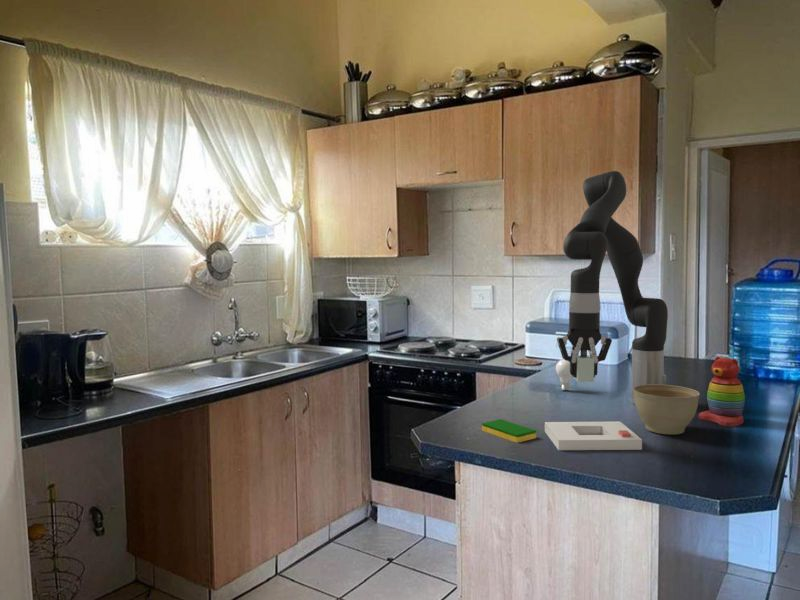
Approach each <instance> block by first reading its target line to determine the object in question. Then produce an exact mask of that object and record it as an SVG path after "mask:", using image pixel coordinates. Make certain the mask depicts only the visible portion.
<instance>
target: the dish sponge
mask: <svg viewBox="0 0 800 600" xmlns="http://www.w3.org/2000/svg"><path fill="white" fill-rule="evenodd" d="M481 432H485V433H488V434H491V435H494V436H497V437H499V438H502V439H504V440H505V439H506V440H508V441H511V442H514V443H517V444H518V443H521V442H526V441H529V440H530V441H531V440H533V439H534V440H535V439H537V430H536V429H533V428H529V427H526V426H524V425H519V424H517V423H513V422H510V421H508V420H505V419H501V418H500V419H495V420H492V421H491V420H490V421H486V422H482V423H481Z"/></svg>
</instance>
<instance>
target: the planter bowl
mask: <svg viewBox="0 0 800 600" xmlns="http://www.w3.org/2000/svg"><path fill="white" fill-rule="evenodd" d="M633 391H634V399H635V404H634V405H635V408H636V411H637V413H638V415H639V417H640V419H641V420H642V421H643V423H644V426H645V429H646V430H648V431H650V432H652V433H656V434H662V435H671V436H673V435H680V434H683V433H685V430H686V427H687V426H688V425H689V424H690V423H691V422H692V420H693V418H695V415H696V413H697V410H698V405H699V398H700V395H701V394H700V392H699V391H698V390H696V389H693V388H689V387H684V386H680V385H679V386H678V385H671V384H666V385H659V384H647V385H639V386H636V387H634V388H633Z"/></svg>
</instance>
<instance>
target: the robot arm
mask: <svg viewBox="0 0 800 600" xmlns="http://www.w3.org/2000/svg"><path fill="white" fill-rule="evenodd" d="M582 190H583V195H584V198H585V200H586V204H587V205H588V208H587V209H586V210H585V211H584V212H583V214H582V216H581V219H580V221H579V223H577V224H576V225H575V226H574V227H573V228H572V229H571V230H570V231H568V233H567V234H566V236H565V238H564V241H563V245H562V246H563V247H562V248H563V252H564V254H565V256H566V257H567V258H568V259H571V260H575V261H576V260H581V261H582V260H587V261H589V260H591V261H590V264H589V265H588V266H586V267H584V268H577V269H575V270H572V272H570V295H569V300H568V302H569V305H568V307H569V308H568V332H567V333H566V335H564V336H561V337H559V336H558V337H557V338H556V342H557V345H558V349H559V351H560V353H561V358H562V360H563V359H565V360H566V361H569V362H570V374H571V375H572V376H571V378H572V377H574V378H576V376H577V363H576V360H577V357H578V355H580V353H581V350H587V353H588V355H590V356H591V357H593V358H594V379H595V377H596V376H597V375H598V364H599V362H603V361H605V360H606V358H607V355H608V353H609V350H610V348H611V345H612V342H613V340H612V339H611V338H609V337H607V336H602V334H601V331H600V328H601V326H600V322H601V320H600V319H601V298H600V278H601V277H600V276H601V271H602V265H603V262H604V259H605V256H606V254H607V257H608V259H609V261H610V265H611V268H612V270H613V271H614V275H615V279H616V281H617V284H618V287H619V290H620V294H621V299H622V303H623V307H624V310H625V314H626V317H627V320H628V322H629V323H630V324H631V325H632V326H635V327H639V328H645V334H644V335H642V336H641V337H637V338H634V339H633V340H632V341H631V342H632V343H631V348H632V349H631V403H632V404H633V405H635V399H634V391H633V388H634V387H636V386H639V385H647V384H659V385H667V375H666V374H665V373H664V371H665V370H664V369H665V368H664V367H665V366H664V362H665V361H664V359H665V357H664V355H665V343H666V340H667V331H668V329H667V328H668V317H669V312H668V306H667V304H666V302H665V300H663V299H661V298H657V297H644V296H643V295H642V293H641V291H640V286H639V277H640V275H641V271H642V270H643V269H642V268H643V265H644V257H643V253H642V250H641V247H640V244H639V241H638V239H637V237H635V235H633V233H632V232H630V231H629V230H628V229H626V228H625V227H624V226H623V225H621V224H620V223H618V221H616V220H615V219H614V218H613V215H614V214H615V213H616V211H617V210H618V208H619V207H620V205H621V204H622V203H623V202H624V200H625V198H626V195H627V184H626V180H625V178H624V176H623V174H622V172H619V171H617V170H612V171H608V172H604V173H600V174H597V175H593V176H590V177H588V178H586V179H585V180H584V181H583V183H582ZM568 342H570V344H571V345H572V346H571V350H570V355H569V353H568V350H567V348H566V347H567V346H566V345H567V344H568ZM599 342H600V344H601V347H600V350H599V353H598V352H597V348H596V346H597V344H598V343H599ZM597 353H598V354H597ZM574 378H573V379H574Z"/></svg>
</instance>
